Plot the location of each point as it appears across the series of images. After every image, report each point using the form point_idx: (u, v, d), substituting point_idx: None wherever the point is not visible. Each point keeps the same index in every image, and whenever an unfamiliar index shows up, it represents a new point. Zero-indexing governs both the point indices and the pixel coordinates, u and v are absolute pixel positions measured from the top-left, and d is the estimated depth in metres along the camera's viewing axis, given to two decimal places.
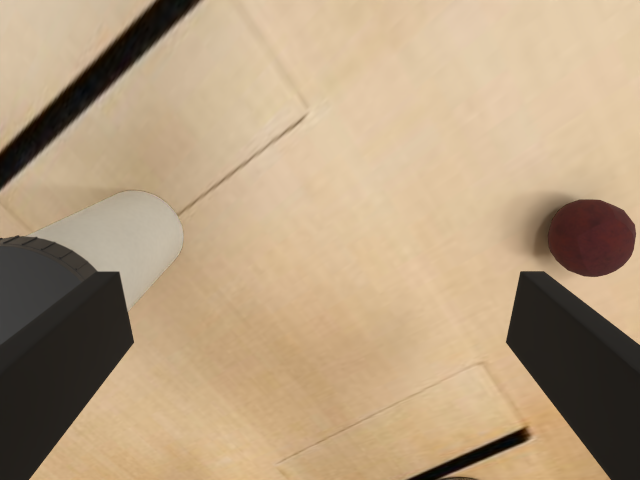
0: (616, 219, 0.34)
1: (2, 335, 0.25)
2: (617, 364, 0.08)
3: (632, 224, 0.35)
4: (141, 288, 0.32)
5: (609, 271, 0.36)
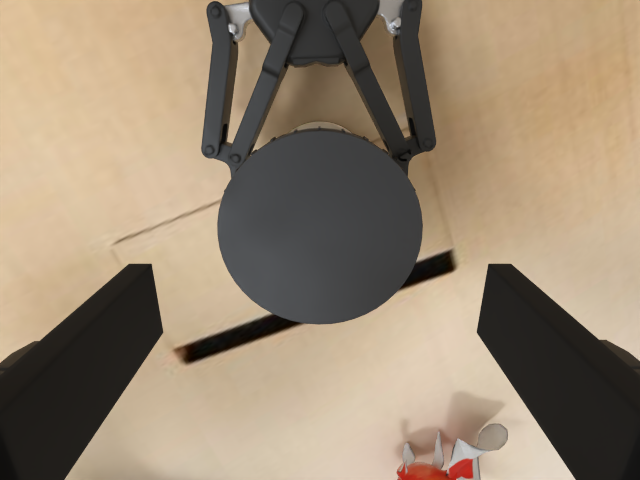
0: None
1: (361, 221, 0.19)
2: (564, 347, 0.09)
3: None
4: None
5: None
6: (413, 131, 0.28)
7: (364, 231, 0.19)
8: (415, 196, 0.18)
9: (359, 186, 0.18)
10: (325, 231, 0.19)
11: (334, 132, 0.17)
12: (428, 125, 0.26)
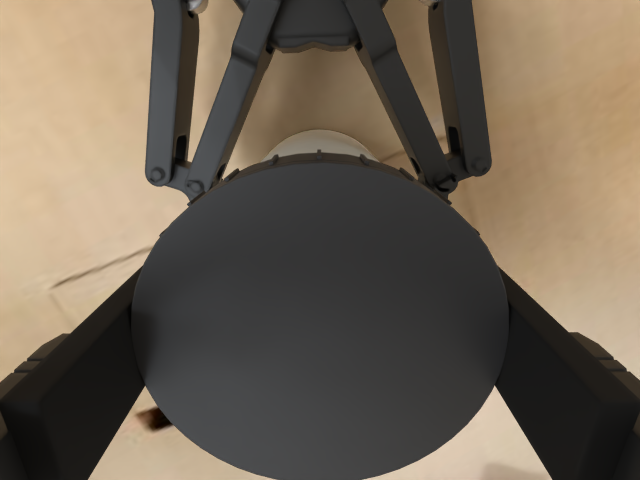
0: None
1: (397, 326, 0.10)
2: (534, 338, 0.09)
3: None
4: None
5: None
6: (453, 146, 0.20)
7: (402, 342, 0.10)
8: (500, 283, 0.10)
9: (394, 265, 0.10)
10: (330, 342, 0.10)
11: (349, 165, 0.09)
12: (481, 138, 0.18)
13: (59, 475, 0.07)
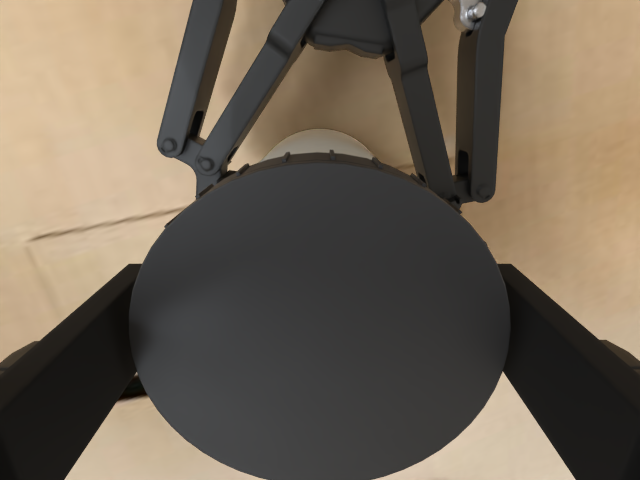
0: None
1: (275, 290, 0.10)
2: (564, 347, 0.09)
3: None
4: None
5: None
6: (461, 170, 0.20)
7: (294, 282, 0.10)
8: (200, 201, 0.09)
9: (209, 306, 0.10)
10: (307, 346, 0.10)
11: (134, 356, 0.10)
12: (489, 167, 0.18)
13: None
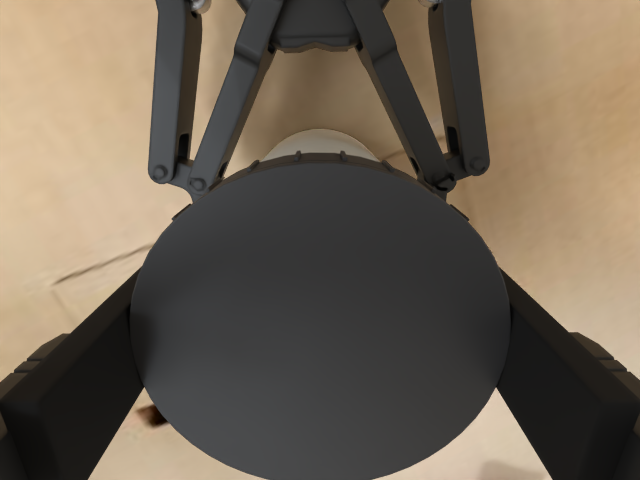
0: None
1: (264, 298, 0.10)
2: (535, 338, 0.09)
3: None
4: None
5: None
6: (453, 146, 0.20)
7: (280, 287, 0.10)
8: (175, 223, 0.09)
9: (204, 323, 0.10)
10: (306, 347, 0.10)
11: (143, 381, 0.11)
12: (479, 138, 0.18)
13: (59, 475, 0.07)
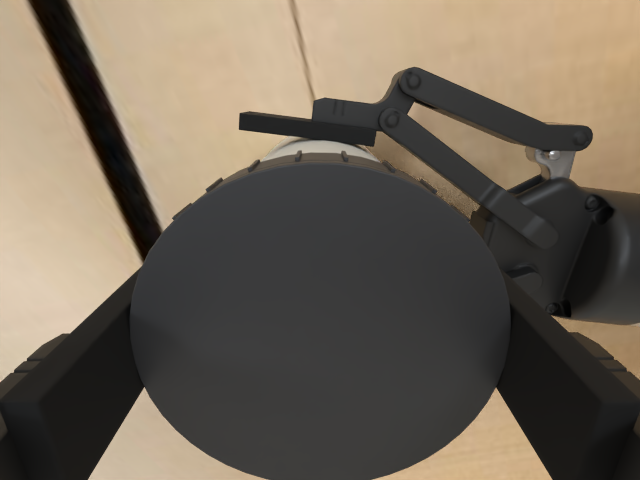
0: None
1: (264, 297, 0.10)
2: (534, 338, 0.09)
3: None
4: None
5: None
6: None
7: (281, 286, 0.10)
8: (175, 223, 0.09)
9: (204, 322, 0.10)
10: (306, 347, 0.10)
11: (143, 380, 0.11)
12: None
13: (59, 475, 0.07)
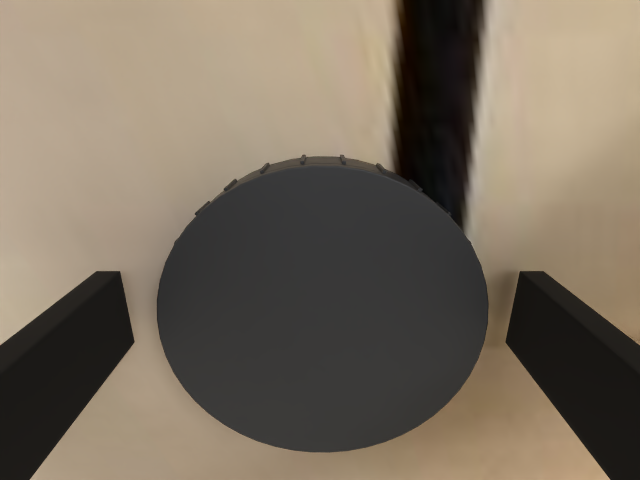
0: None
1: (274, 282, 0.11)
2: (616, 364, 0.08)
3: None
4: None
5: None
6: None
7: (288, 272, 0.11)
8: (198, 217, 0.11)
9: (222, 304, 0.12)
10: (310, 326, 0.12)
11: (167, 356, 0.12)
12: None
13: None
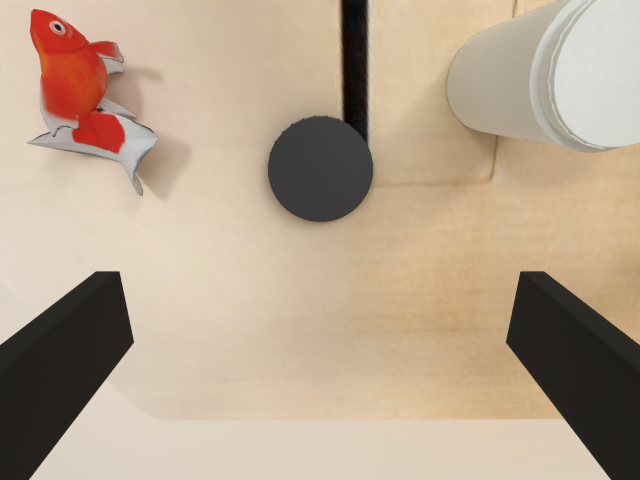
0: None
1: (305, 154, 0.37)
2: (617, 364, 0.08)
3: None
4: None
5: None
6: None
7: (310, 151, 0.36)
8: (284, 132, 0.36)
9: (289, 162, 0.37)
10: (316, 170, 0.37)
11: (270, 182, 0.38)
12: None
13: None
